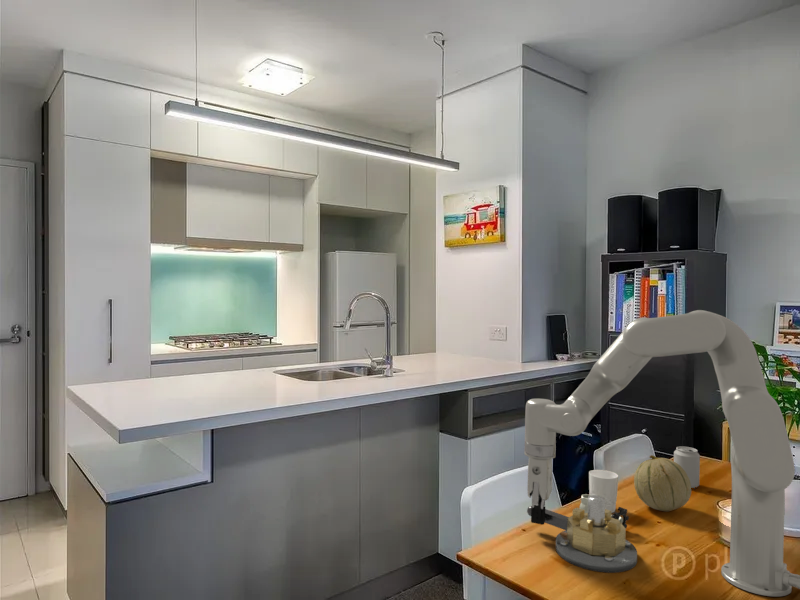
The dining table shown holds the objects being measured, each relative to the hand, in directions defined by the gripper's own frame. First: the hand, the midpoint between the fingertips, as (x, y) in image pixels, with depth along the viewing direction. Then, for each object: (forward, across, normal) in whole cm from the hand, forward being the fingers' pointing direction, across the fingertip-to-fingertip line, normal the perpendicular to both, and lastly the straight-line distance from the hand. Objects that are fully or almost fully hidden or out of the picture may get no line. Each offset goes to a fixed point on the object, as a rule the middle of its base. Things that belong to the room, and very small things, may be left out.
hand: (538, 522), depth 137 cm
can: (+4, +60, -38) cm, 71 cm away
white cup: (+4, +27, -14) cm, 31 cm away
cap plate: (+4, -3, -14) cm, 15 cm away
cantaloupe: (+4, +34, -29) cm, 45 cm away
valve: (+4, +15, -14) cm, 21 cm away
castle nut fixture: (+1, 0, -8) cm, 8 cm away
